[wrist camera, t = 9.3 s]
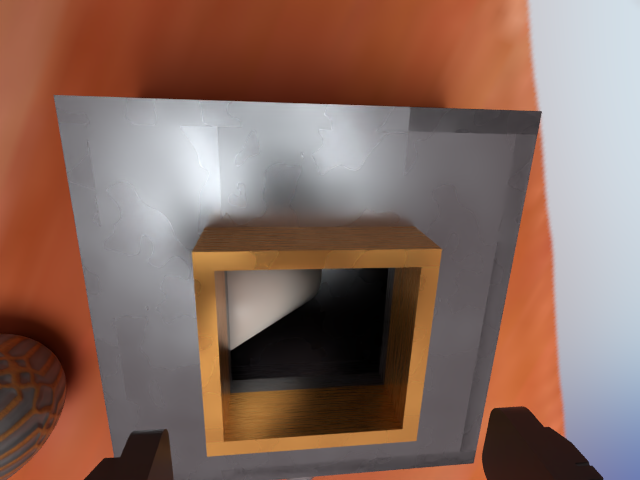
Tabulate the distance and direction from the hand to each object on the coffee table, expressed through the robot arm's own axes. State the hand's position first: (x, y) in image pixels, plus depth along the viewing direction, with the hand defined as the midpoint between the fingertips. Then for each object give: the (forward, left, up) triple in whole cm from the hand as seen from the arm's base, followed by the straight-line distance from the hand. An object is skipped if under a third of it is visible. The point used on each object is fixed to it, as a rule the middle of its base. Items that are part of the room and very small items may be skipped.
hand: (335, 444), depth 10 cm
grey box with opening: (+2, 0, -14) cm, 14 cm away
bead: (0, -1, -12) cm, 12 cm away
